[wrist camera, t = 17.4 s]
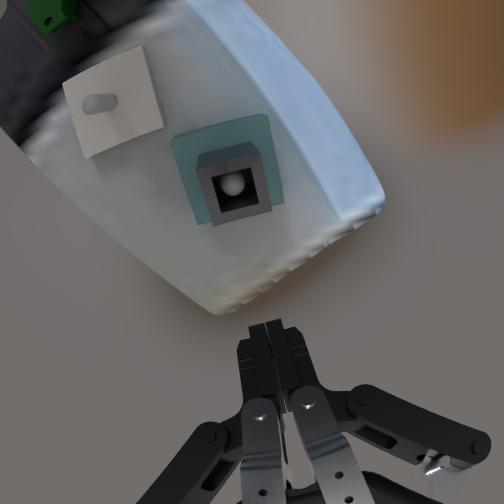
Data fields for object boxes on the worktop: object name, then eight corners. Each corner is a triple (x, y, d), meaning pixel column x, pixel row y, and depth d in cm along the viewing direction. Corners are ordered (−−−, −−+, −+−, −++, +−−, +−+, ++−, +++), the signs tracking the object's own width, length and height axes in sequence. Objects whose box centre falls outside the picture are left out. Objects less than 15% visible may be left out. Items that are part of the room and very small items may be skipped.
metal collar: (198, 154, 26) (195, 169, 21) (250, 141, 26) (260, 152, 21) (212, 201, 29) (213, 226, 24) (261, 188, 29) (272, 210, 24)
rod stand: (68, 83, 21) (39, 84, 16) (144, 47, 21) (128, 36, 16) (90, 156, 27) (65, 171, 22) (166, 125, 27) (154, 133, 21)
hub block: (174, 136, 28) (161, 150, 21) (262, 113, 28) (278, 120, 21) (198, 214, 33) (196, 248, 26) (278, 193, 33) (296, 223, 26)
